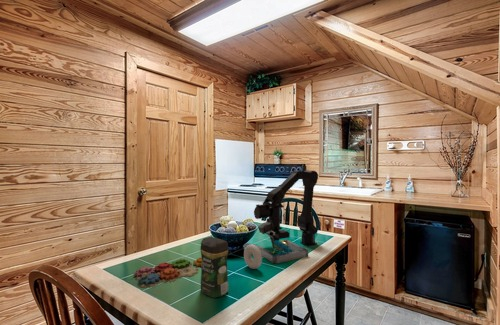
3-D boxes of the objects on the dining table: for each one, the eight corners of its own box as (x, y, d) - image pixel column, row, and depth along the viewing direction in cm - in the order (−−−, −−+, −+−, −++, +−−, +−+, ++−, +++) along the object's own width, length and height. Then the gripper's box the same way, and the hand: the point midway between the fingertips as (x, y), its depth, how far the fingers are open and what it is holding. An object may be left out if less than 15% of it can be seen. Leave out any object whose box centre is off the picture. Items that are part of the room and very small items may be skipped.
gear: (297, 253, 122) (283, 240, 120) (290, 264, 120) (276, 251, 117) (283, 249, 132) (270, 237, 129) (276, 259, 130) (263, 247, 127)
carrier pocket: (288, 246, 137) (288, 240, 137) (308, 256, 124) (308, 249, 124) (256, 252, 128) (256, 246, 128) (274, 263, 115) (274, 257, 115)
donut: (263, 270, 108) (263, 246, 107) (257, 273, 105) (257, 248, 105) (248, 263, 115) (248, 240, 115) (242, 265, 113) (242, 242, 113)
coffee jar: (196, 291, 91) (196, 238, 91) (214, 283, 97) (213, 233, 97) (214, 301, 85) (214, 244, 84) (232, 292, 90) (232, 238, 90)
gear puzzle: (204, 258, 123) (204, 249, 123) (220, 270, 110) (220, 260, 110) (132, 274, 106) (132, 264, 106) (141, 291, 92) (141, 279, 92)
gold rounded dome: (286, 243, 143) (286, 237, 143) (293, 246, 138) (293, 240, 138) (277, 244, 140) (277, 239, 140) (284, 248, 135) (284, 242, 135)
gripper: (251, 214, 136) (251, 244, 137) (270, 222, 120) (270, 256, 120) (269, 212, 141) (269, 241, 142) (290, 220, 125) (290, 252, 125)
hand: (274, 247), depth 132 cm, fingers closed
